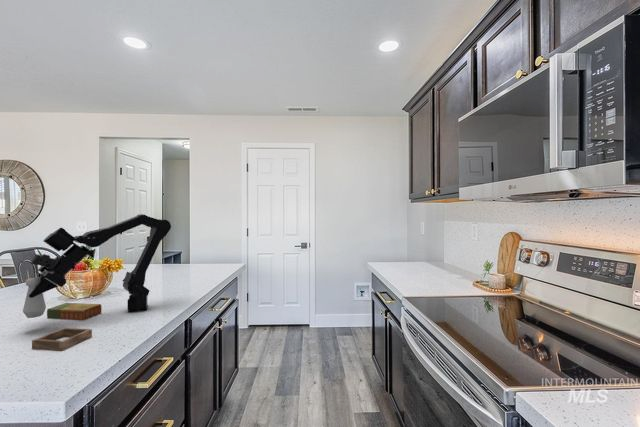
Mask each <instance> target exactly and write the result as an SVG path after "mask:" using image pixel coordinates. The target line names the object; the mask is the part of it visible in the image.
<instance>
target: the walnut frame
mask: <svg viewBox="0 0 640 427" xmlns="http://www.w3.org/2000/svg"><path fill="white" fill-rule="evenodd" d="M64 337H65V338H66V339H63V340H59V339H62V338H64ZM92 337H93V329H89V328H76V327H75V328H74V327H62V328H60V329H57V330H55V331H53V332H50V333H48V334H45V335H42V336H39V337H36V338H35V339H31V349H32V350H44V351H45V350H47V351H57V352H58V351H59V352H63V351H65V350H68V349H70V348H72V347H74V346H75V345H78V344H80V343H83V342H84V341H86V340H88V339H91V338H92Z"/></svg>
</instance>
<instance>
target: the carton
mask: <svg viewBox="0 0 640 427" xmlns="http://www.w3.org/2000/svg"><path fill="white" fill-rule="evenodd" d="M46 309H47V310H46V318H47V319H49V320H50V319H52V320H67V319H68V320H73V321H87V320H88V318H89V319H90V318H93V316H94V317H96V316H98V314H99V315H101V314H102V312H103V311H102V304H101V303H81V302H80V303H78V302H77V303H75V302H74V303H73V302H64V303H62V304H59V305H55V306H53V307H50V308H46Z"/></svg>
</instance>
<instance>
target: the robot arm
mask: <svg viewBox="0 0 640 427" xmlns="http://www.w3.org/2000/svg"><path fill="white" fill-rule="evenodd" d="M141 225H143V226H145V227H147V228H150V230H149V238H148V241H147V242H146V244H145V246H144V249H143V250H142V252H141V255H140V257H139V259H138V261H137V263H136V265H135V266H134V268H133V270H131V271H130V272H129V271H127V272H126V273H125V276H124V278H123V280H122V287H123V289H124V290H125V291H127V293H128V295H129V296H128V299H127V313H135V312H146V311H147V309H148V308H149V305H148V296H149V293H150V289H149V288H147V287H146V286H144V285H145V282H146V274H147V273H146V272H147V271H148V268H149V267H150V264H151V262H152V260H153V258H154V255H155V253H156V251H157V249H158V247H159V246H160V243H161V242H162V240H163V239H164V238H165V237H166V236H167V235H168V233H169V232H170V231H171V229H172V225H171V222H170V221H169V220H168V219H158V218H154V217H152V216H148V215H146V214H143V213H142V214H137V215H135V216H133V217H130V218H128V219H126V220H122V221H121V222H118V223H116V224H112V225H111V226H108V227H103V228H99V229H93V230H90V231H86V232H85V233H84V234H82V235H75V236H73V235H72V234H70V233H69V232H68V231H67V230H66V229H65V228H63V227H59V228H58V229H57V230H54V231H53V232H52V233H49V234H48V235H47V236H46V237H45V238H44V239H43V241H42V242H44V243H45V244H47V245H48V246H50V248H53V249H54V250H55V251H57V252H61V251H63V253H62V254H61V255H58V256H56V257H55V258H54V257H53V258H52V257H51V255H49V254H46V253H43V254H42V255H41V254H37V253H34V255H33V256H32V259H31V261H30V263H29V264H31V265H34V266H40V267H39V268H37V271H38V272H37V277H40V282H39V284H38V285H37V286H36V287H35V288H34V290H33V291H32V292H31V293H30V294H29V297H30V298H33V297H35V296H37V295H39V294H41V293H43V294H44V293H46V292H48V291H50V290H53V289H55V288H58V287H60V288H63V286H65V285H66V284H67V278H66V275H68V273H69V272H71V271H72V270H75V269H76V266H77V265H78V264H80V262H81V261H82V260H83V259H84V258H86V257H87V256H89V257H90V258H94V257H95V255H94V251H95V250H94V249H89V248H87V247H90V248H97V247H99V246H101V245H103V244H105V243H106V242H107V241H109V240H110V239H111V238H113V237H115V236H117V235H120V234H122V233H125V232H127V231H129V230H131V229H134V228H136V227H138V226H141ZM77 243H78V244H81V245H80V246H79V245H78V244H77ZM82 244H83V245H82ZM86 246H87V247H86ZM64 251H65V252H64Z"/></svg>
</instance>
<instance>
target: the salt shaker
mask: <svg viewBox="0 0 640 427" xmlns="http://www.w3.org/2000/svg"><path fill="white" fill-rule="evenodd" d="M39 282H40V277H38V276H36V277H31V278H27V279H26V280H25V285H26V286H27V287H28V288H27V292H26V295H25V300H24V304H23V308H22V313H23V314H24V315H25V317H26V318H27V319H32V318H38V317H41V316H43V315H44V314H45V311H46V309H47V305H46V301H45V298H44V293H41V294H39V295H37V296H35V297H33V298H30V297H29V294H30V293H31V292H32V291H33V290H34V288H35V287H36V286H37V285H38V284H39Z"/></svg>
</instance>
